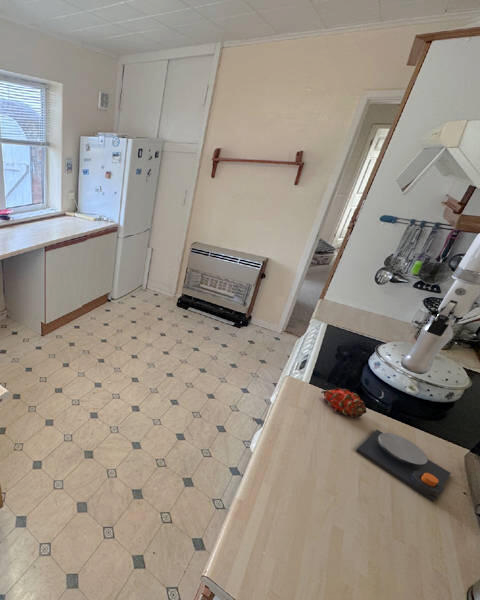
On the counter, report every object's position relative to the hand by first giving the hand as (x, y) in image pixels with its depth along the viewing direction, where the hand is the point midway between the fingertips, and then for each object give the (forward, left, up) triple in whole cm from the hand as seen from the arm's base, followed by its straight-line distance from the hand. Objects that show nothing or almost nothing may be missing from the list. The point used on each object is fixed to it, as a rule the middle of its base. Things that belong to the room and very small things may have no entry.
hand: (437, 330), depth 97 cm
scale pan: (-9, +28, -26) cm, 39 cm away
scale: (-11, +29, -29) cm, 43 cm away
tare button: (-16, +34, -26) cm, 45 cm away
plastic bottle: (0, 0, -15) cm, 15 cm away
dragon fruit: (+7, +21, -29) cm, 37 cm away
